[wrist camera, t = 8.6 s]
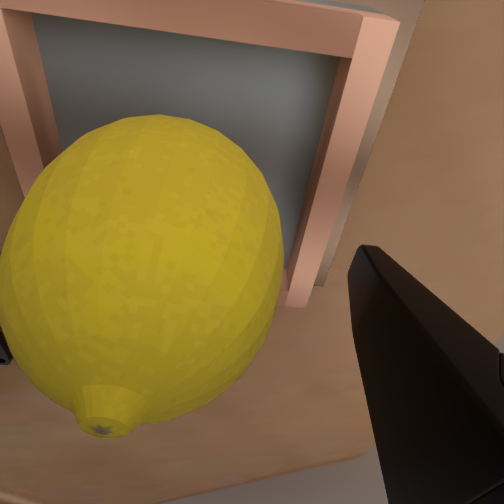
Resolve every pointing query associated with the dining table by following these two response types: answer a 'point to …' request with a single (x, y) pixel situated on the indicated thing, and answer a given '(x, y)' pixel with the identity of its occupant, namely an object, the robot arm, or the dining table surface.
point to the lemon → (141, 272)
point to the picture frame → (217, 92)
